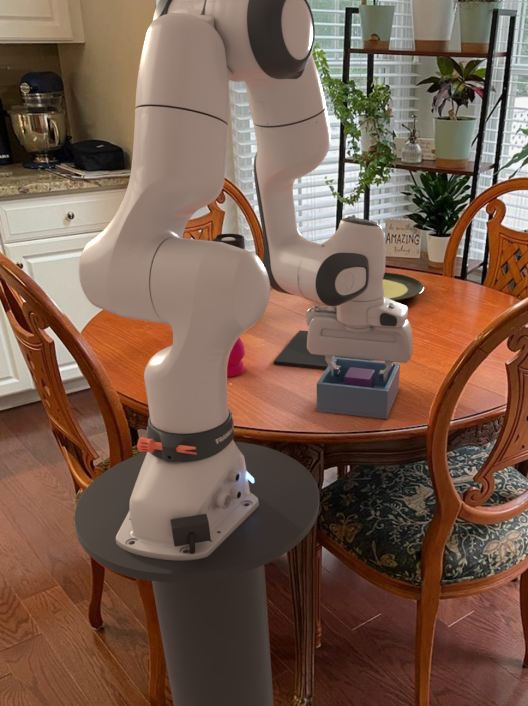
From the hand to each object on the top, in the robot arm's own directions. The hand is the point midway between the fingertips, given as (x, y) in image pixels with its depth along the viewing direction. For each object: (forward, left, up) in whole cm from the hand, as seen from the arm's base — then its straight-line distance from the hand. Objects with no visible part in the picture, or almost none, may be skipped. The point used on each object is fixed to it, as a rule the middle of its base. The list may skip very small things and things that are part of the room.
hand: (359, 377), depth 139 cm
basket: (-1, 0, -5) cm, 5 cm away
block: (-1, 0, -4) cm, 4 cm away
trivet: (+22, +12, -5) cm, 26 cm away
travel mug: (+38, +41, -5) cm, 56 cm away
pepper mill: (+6, +30, -5) cm, 31 cm away
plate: (+68, +11, -5) cm, 70 cm away
